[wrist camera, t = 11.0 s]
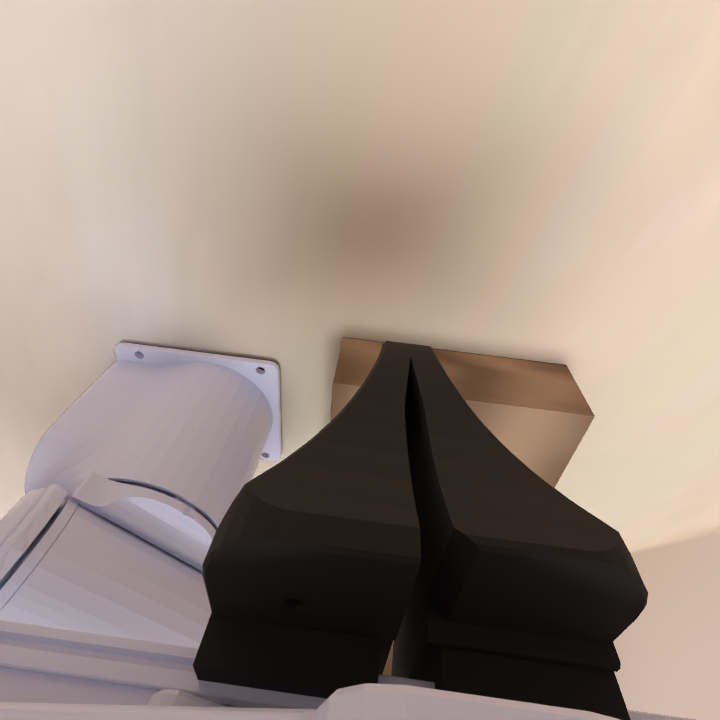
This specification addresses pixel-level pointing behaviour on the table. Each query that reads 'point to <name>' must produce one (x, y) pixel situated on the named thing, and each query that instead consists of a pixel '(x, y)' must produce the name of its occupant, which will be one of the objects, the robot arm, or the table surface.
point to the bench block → (496, 401)
